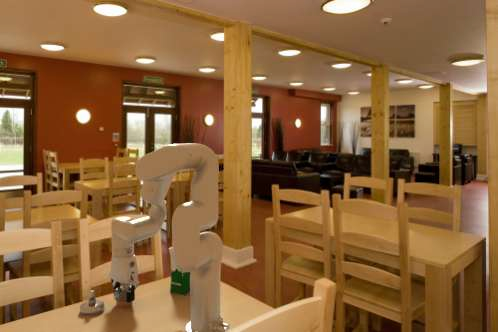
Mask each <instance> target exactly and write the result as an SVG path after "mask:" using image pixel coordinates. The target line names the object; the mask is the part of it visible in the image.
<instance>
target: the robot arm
mask: <svg viewBox="0 0 498 332" xmlns="http://www.w3.org/2000/svg"><path fill="white" fill-rule="evenodd" d="M219 168H220V167H219V160H218V157H217V155H216V153H215V152H214V150H213V149H211V148H210V147H209V146H207V145H204V144H202V143H194V142H193V143H192V142H191V143H190V142H188V143H173V144H172V143H171V144H167V145H165V146H162V147H160V148H158V149H155V150H153V151H152V152H149V153H145V154H144V155H143V156H141V157H139V159H138V160H137V161H136V165H135V169H134V170H135V176H136V177H137V179H138V180H139V181H141V182H143V183H142V186H141V188H140V190H139V196H140V198H141V199H142V200H143V201H144V202H145V203H148V204H150V205H151V206H150V209H149V211H148V213H147V215H146V216H143V217H139V218H136V219H133V218H132V217H129V216H118V217H115V218H112V220H111V224H110V225H111V226H110V227H111V228H110V229H111V230H110V231H111V253H112V254H111V261H110V272H109V274H108V277H109V279H110V281H111V283H112V284H111V285H112V287H113V292H114V291H115V288H117V287H120V286H123V284H124V285H126V287H127V291H128V292H126V296H127V303H130V302H132V303H133V302H134V301H135V300H136V294H135V292H136V290H137V287H139V285H140V281H139V272H138V271H139V270H138V261H137V257H136V255H135V243H137V242H140V241H143V240H146V239H149V238H151V237H154V236H156V235H157V234H158V233H159V232H160V231H161V229H162V227H163V225H164V222H165V220H166V217H167V206H166V202H165V199H166V197H167V194H168V192H169V189H170V187H171V184H172V182H173V180H174V178H175V176H176V173H181V172H182V173H183V172H189V171H193V172H194V175H193V176H192V179H191V183H190V200H189V201H188V202H187V201H186V202H185V203H181V204H180V205H178V206H177V207H176V208H175V209H174V211H173V215H172V216H171V217H172V218H171V247H172V254H173V260H174V263H175V265H176V266H177V268H178V269H179V270H181V271H183V272H191V274H190V292H189V295H190V297H189V299H190V300H189V301H190V303H189V307H190V309H189V311H190V312H189V313H190V314H189V315H190V321H189V322H188V323H187V324H186V326H185V332H195V331H198V332H225V331H227V330H228V331H229V329H230V324H229V323H225V322H224V316H222V315H221V272H222V271H221V269H222V261H223V254H224V244H223V240H222V238H221V237H220V236H219V235H218V233H215V232H214V231H206V230H208V229H210V228H213V227H214V226H215V225H217V223H218V220H219V211H220V210H219V174H220V172H219ZM129 285H130V286H131V287H130V286H129Z"/></svg>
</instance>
